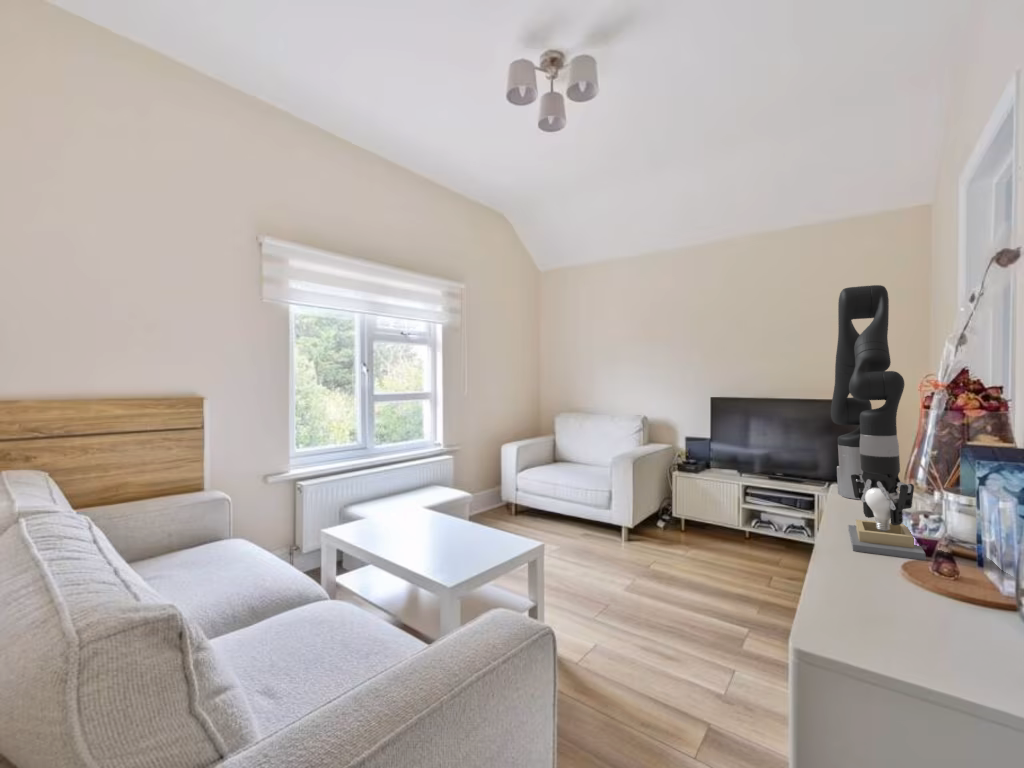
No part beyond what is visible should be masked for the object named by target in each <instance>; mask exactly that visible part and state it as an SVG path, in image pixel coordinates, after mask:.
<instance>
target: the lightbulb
mask: <svg viewBox="0 0 1024 768" xmlns="http://www.w3.org/2000/svg"><path fill="white" fill-rule="evenodd" d="M889 495H890V496H895V493H890V494H889ZM865 501H866V503H867V505H868V506H869V507H870V508H871V510H872V511H873V514H874V517H873V518H875V520H874V521H876V528H877V529H879V530H880V531H887V530H890V528H889V527H890V525H889V524H890V523H891V517H890V509H891V507H890V501H889V500H887V499H886V498H885V496H884V494H883V493H882V492H881V490H880V489H879V488H877V487H872V488H871V489H869V490H868V491H867V492H866V494H865ZM894 502H895V504H897V500H896V499H894Z"/></svg>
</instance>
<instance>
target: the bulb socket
mask: <svg viewBox="0 0 1024 768" xmlns="http://www.w3.org/2000/svg"><path fill="white" fill-rule="evenodd" d="M889 523H890V524H889V525H890V527H889V528H890V530H887V531H880V530H879V529H877V528H876V520H866V519H865V520H864V519H855V525H852V524H848V525H847V528H848V533H849V534H848V535H849V537H850V543H851V547H852V551H853V552H859V553H865V554H866V553H867V554H875V555H883V556H891V557H898V558H899V557H900V558H907V559H913V560H914V559H915V560H921V561H927V560H926V556H927V555H926V552H925V550H924V549H923V547H922V546H917V545H914V538H913V536H912V534H911V532H910V529H909V527H908V526H907V527H906V526H905V525H904V524H905V523H901V524H900V525H892V524H891V522H889Z"/></svg>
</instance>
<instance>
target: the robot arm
mask: <svg viewBox="0 0 1024 768" xmlns="http://www.w3.org/2000/svg"><path fill="white" fill-rule="evenodd" d="M889 301H890V299H889V294H888V290H887V288H886V287H885V285H881V284H874V285H872V284H871V285H861V286H859V285H858V286H851V287H846V288H843V289H842V290H841V291H840V293H839V297H838V303H837V304H838V309H837V310H838V316H837V317H838V321H837V322H838V329H837V333H838V335H837V346H836V354H835V366H834V368H835V369H834V372H835V373H834V386H833V388H834V389H833V394H832V400H831V406H830V417H831V421H832V422H833V423H834V424H836V425H838V426H839V425H840V426H858V427H857V428H856V429H854V430H853V431H851V432H848V433H845V434H842V435H839V436H837V449H838V452H837V453H838V454H837V455H838V465H837V466H836V478H837V480H836V481H837V494H838V495H840V496H842V497H843V498H847V499H852V500H860V501H861V502H862V506H863V507H862V509H863V514H864V516H865V518H868V519H871V518H875V517H874V514H873V511H872V510H871V508H870V507H869V506H868V505H867V503H866V501H865V494H866V492H867V491H868V490H869V489H871V488H872V487H877V488H879V489H880V490H881V492H882V493H883V494H884V496H885V498H886V499H887V500H889V501H890V507H891V509H890V517H891V518H890V523H891V524H892V525H900V524H903V522H904V521H903V520H904V519H903V516H904V515H903V510H906V509H912V507H913V497H914V489H915V485H914V484H913V483H905V482H902V481H901V480H900V477H899V474H900V473H901V463H900V462H901V461H900V445H899V444H900V443H899V439H898V429H897V414H898V413H897V412H898V409H899V405H900V402H901V398H902V395H903V394H904V393H903V392H904V389H905V379H904V377H903V376H902V374H901V373H900V372H897V371H894V370H888V369H889V368H890V367H891V355H890V349H889V342H888V341H889V340H888V333H889V332H888V331H889V313H890V312H889V311H890V309H889V307H890V305H889ZM859 319H860V320H861V319H862V320H866V319H873V320H872V321H870V324H869V325H867V327H866V328H865V329H864V330H863V331H862V332H861V333H859V332H858V331H857V328H855V325H854V324H853V320H859ZM849 395H850V396H851V397H849ZM871 401H885V402H884V404H883V405H882V406H880V407H878V408H874V409H873V407H872V402H871ZM890 493H895V496H890V495H889V494H890ZM894 499H896V500H897V504H895V502H894Z"/></svg>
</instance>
